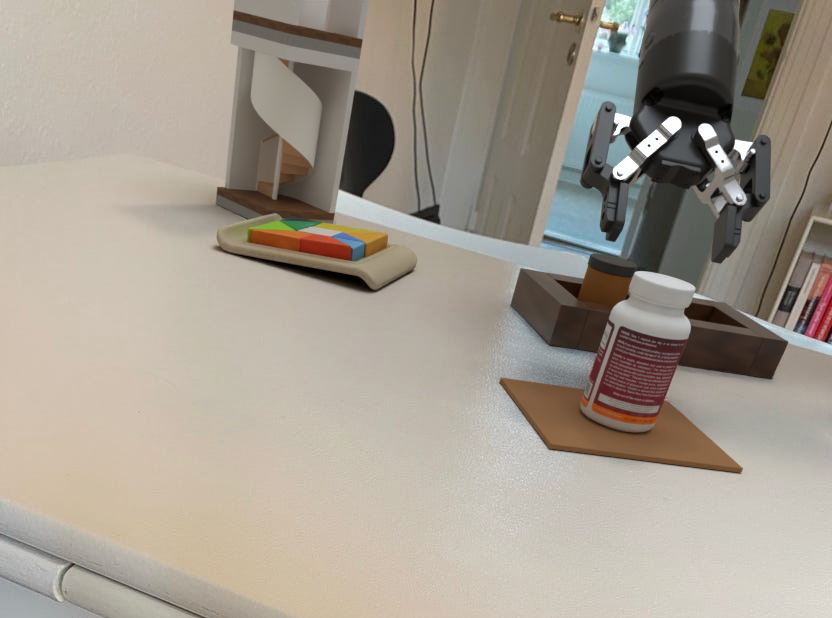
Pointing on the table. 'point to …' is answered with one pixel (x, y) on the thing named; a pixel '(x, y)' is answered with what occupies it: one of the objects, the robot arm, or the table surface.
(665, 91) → the robot arm
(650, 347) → the pill bottle
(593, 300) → the spice jar
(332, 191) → the spiral staircase model
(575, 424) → the cork mat
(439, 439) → the table surface
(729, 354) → the bottle rack
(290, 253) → the wooden puzzle
